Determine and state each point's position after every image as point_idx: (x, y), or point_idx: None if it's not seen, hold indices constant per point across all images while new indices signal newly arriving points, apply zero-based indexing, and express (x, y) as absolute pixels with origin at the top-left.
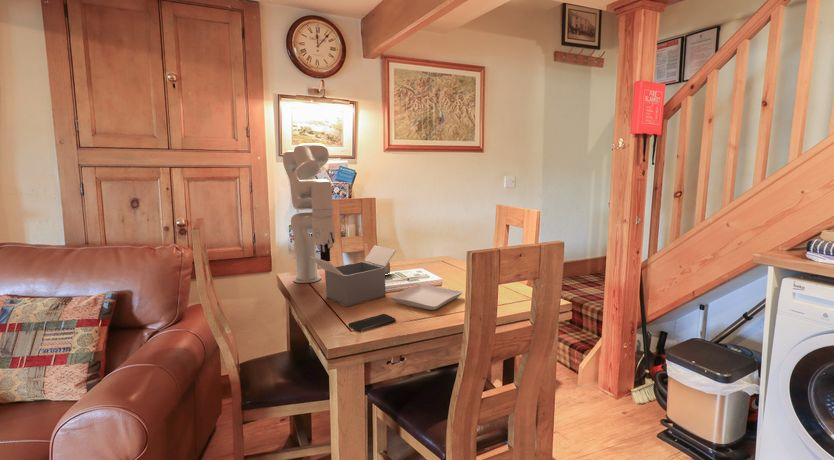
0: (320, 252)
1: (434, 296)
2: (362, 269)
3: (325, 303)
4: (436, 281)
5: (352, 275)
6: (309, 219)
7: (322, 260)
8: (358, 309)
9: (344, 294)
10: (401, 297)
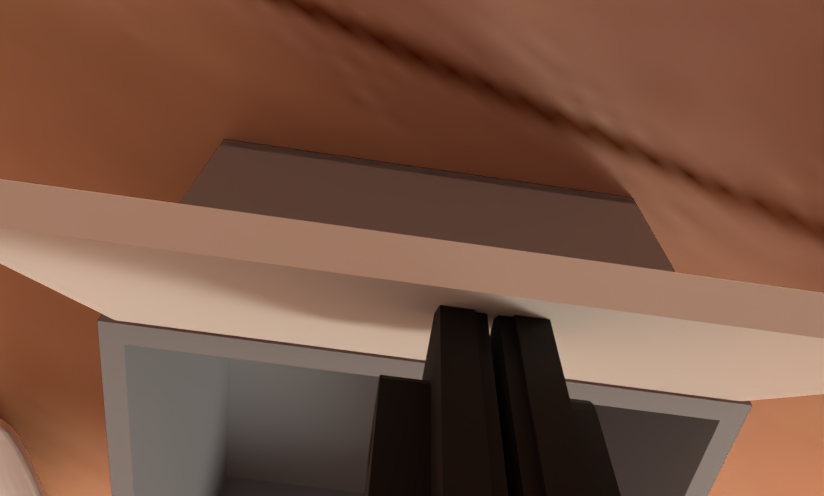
0: (579, 493)
1: None
2: None
3: (493, 74)
4: None
5: (109, 405)
6: None
7: (316, 251)
8: (82, 154)
9: (239, 195)
10: (28, 492)
